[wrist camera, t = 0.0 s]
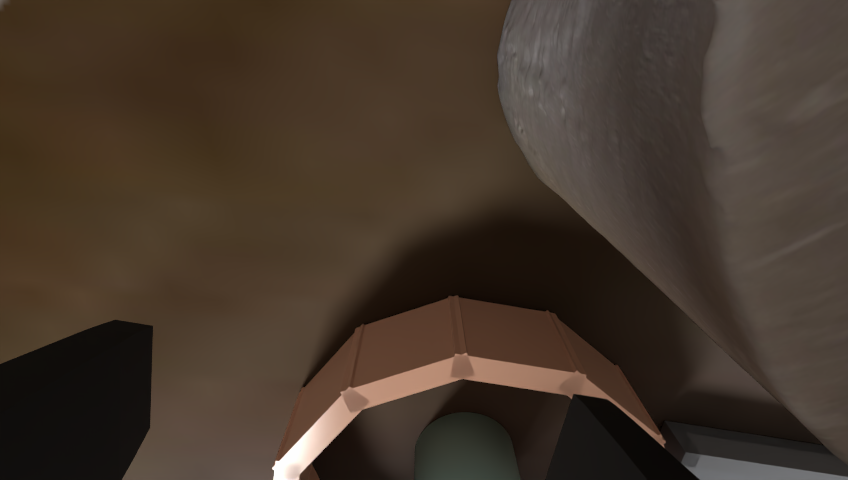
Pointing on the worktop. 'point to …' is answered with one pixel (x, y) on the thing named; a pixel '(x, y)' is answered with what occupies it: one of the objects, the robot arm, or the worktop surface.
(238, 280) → the worktop surface
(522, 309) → the tan faceted hollow ring
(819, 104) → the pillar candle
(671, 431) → the tray
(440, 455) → the peg
